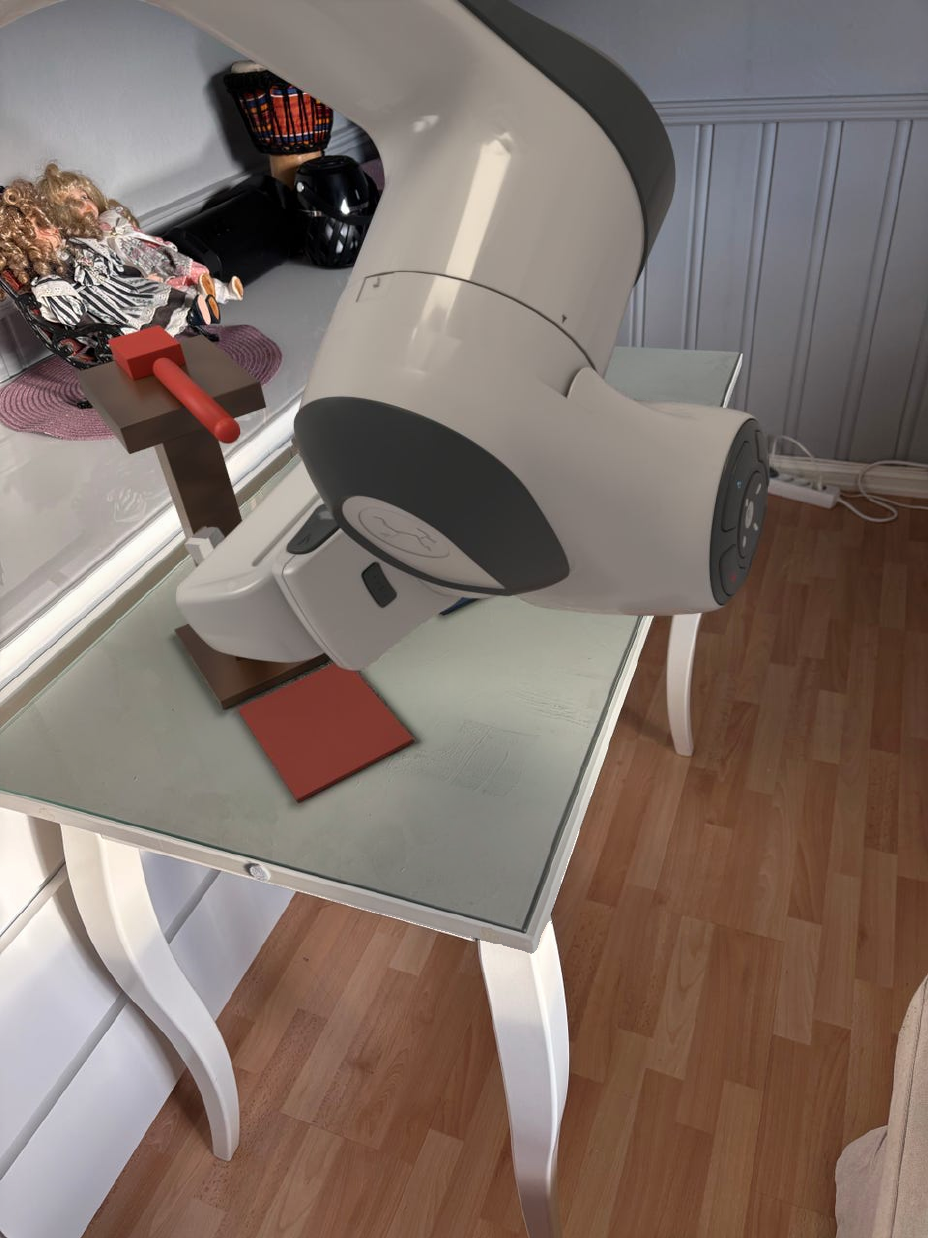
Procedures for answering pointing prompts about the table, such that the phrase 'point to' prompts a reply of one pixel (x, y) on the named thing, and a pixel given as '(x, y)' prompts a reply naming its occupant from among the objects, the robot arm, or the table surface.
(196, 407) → the red toy mallet
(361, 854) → the table surface
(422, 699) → the table surface
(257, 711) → the red mat
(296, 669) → the brown stand
